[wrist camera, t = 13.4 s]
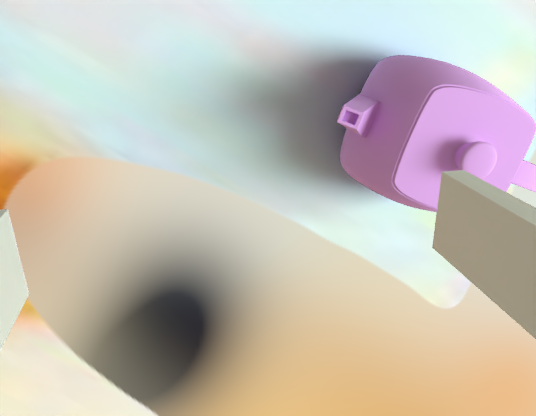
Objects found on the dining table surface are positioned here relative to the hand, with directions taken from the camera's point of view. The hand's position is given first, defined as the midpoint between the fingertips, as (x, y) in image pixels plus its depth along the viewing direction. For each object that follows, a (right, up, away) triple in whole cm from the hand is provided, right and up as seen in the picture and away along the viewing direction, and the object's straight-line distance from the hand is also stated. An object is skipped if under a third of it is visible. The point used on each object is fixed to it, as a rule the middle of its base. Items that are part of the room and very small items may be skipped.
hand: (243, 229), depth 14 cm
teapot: (+13, +9, +31) cm, 35 cm away
